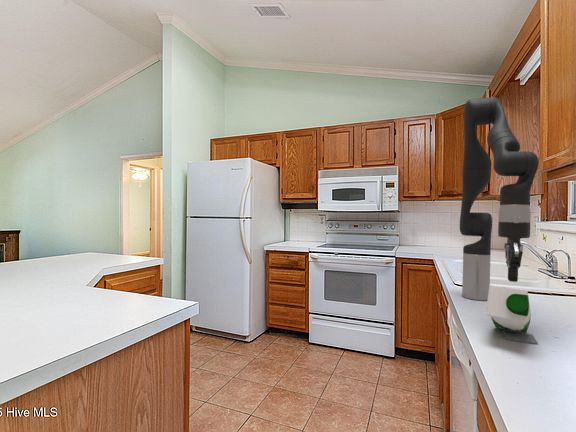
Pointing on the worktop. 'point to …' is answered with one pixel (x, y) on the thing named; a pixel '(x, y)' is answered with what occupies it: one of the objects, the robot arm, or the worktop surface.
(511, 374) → the worktop surface
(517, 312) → the soya milk
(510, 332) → the rubber pad
